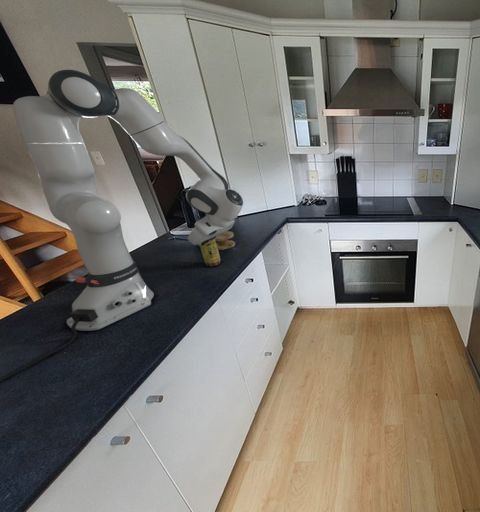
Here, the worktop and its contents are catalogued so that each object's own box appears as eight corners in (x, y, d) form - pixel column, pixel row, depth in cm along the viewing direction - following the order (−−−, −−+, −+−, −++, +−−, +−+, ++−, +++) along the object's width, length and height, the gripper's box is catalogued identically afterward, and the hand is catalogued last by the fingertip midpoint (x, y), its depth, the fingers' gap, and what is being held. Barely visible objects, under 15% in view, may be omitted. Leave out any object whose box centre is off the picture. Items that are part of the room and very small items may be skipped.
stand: (224, 251, 136) (221, 239, 133) (206, 248, 139) (203, 237, 136) (240, 242, 146) (237, 232, 143) (223, 240, 148) (220, 230, 145)
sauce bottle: (214, 267, 121) (201, 225, 112) (202, 266, 122) (188, 224, 113) (225, 261, 126) (213, 220, 117) (213, 259, 127) (200, 219, 118)
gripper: (231, 209, 121) (218, 227, 128) (191, 223, 103) (179, 244, 110) (242, 219, 122) (229, 237, 129) (204, 235, 104) (191, 255, 111)
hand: (205, 240), depth 119 cm, fingers closed on sauce bottle, 6 cm apart
